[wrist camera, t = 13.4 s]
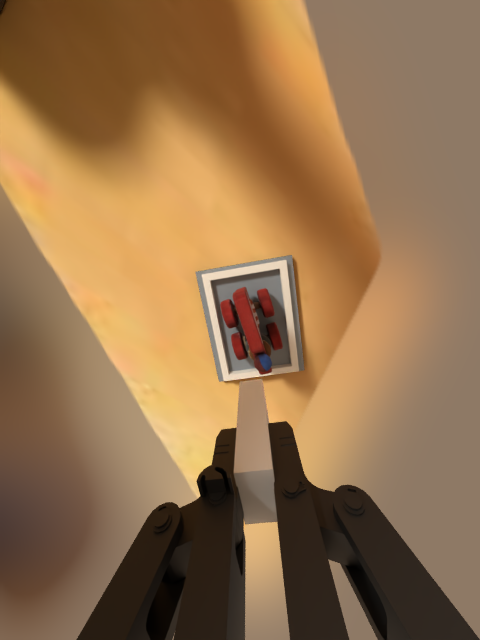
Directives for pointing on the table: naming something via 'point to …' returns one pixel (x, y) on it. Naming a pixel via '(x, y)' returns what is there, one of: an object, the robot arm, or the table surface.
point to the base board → (283, 296)
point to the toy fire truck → (252, 328)
